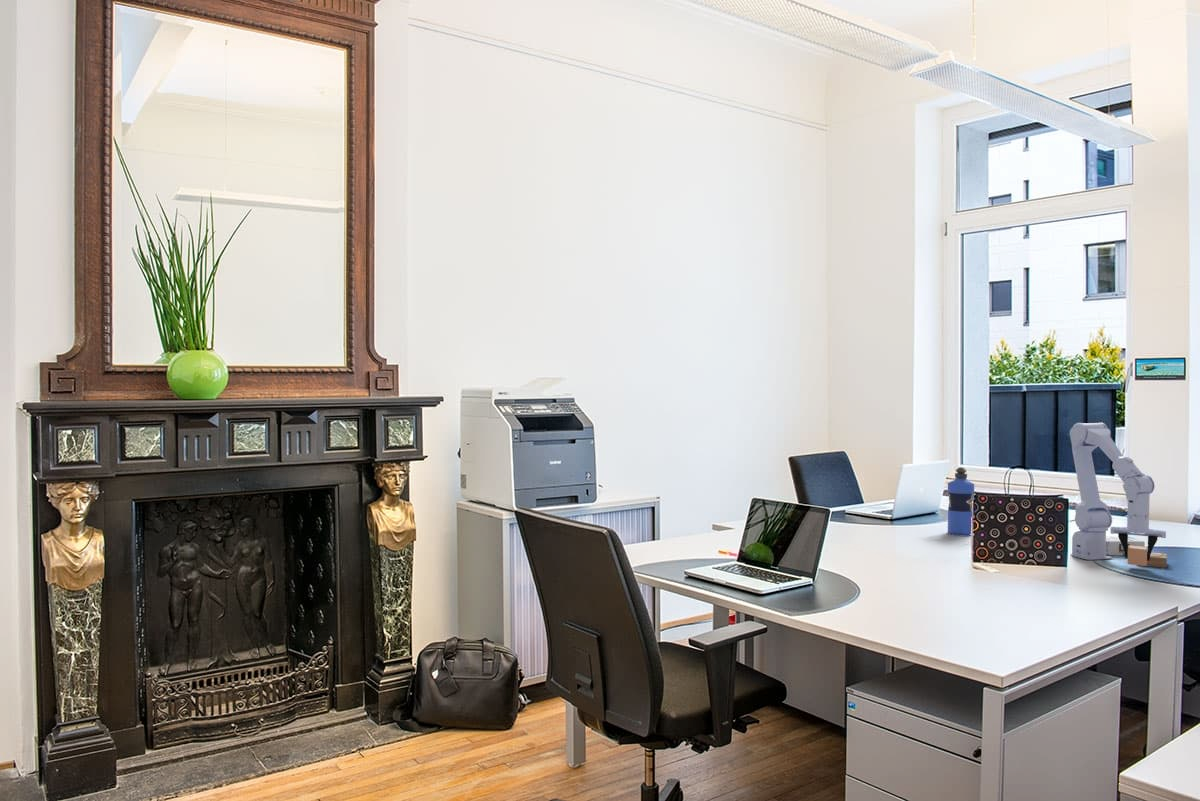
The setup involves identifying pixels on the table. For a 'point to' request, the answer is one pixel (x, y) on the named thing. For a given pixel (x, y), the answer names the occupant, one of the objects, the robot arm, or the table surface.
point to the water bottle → (960, 504)
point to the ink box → (1120, 545)
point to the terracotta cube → (1137, 555)
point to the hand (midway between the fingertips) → (1137, 558)
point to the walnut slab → (1157, 560)
